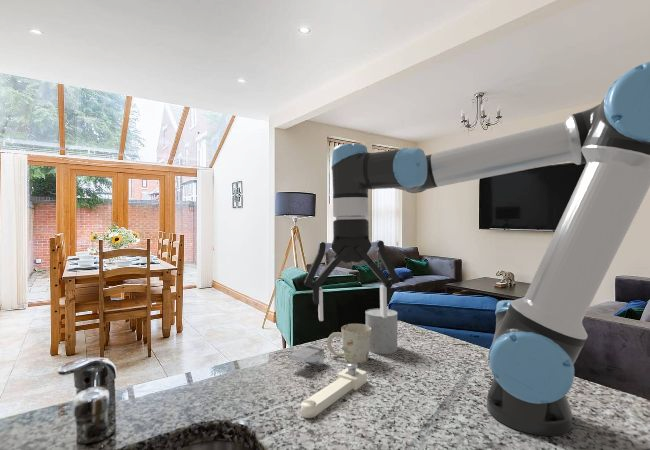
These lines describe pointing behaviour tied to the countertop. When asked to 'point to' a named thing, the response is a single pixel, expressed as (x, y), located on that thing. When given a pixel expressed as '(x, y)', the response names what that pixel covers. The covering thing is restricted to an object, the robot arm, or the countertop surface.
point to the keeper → (309, 355)
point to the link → (332, 392)
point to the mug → (353, 342)
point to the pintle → (352, 368)
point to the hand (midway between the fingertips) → (352, 318)
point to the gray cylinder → (382, 331)
